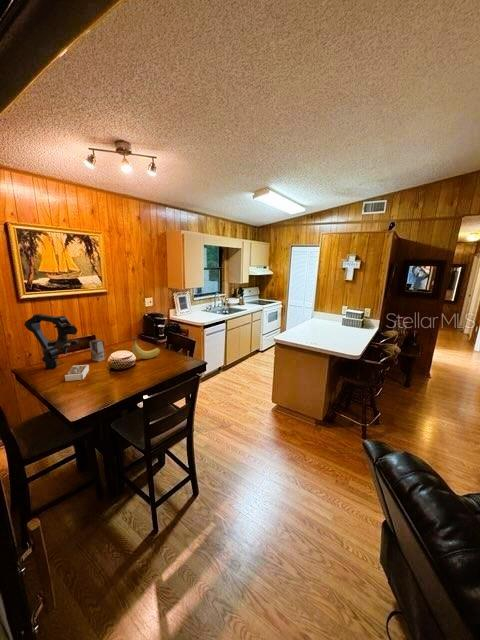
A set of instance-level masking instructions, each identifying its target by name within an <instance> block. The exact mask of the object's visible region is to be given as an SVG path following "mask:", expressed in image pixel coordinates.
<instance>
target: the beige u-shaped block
mask: <svg viewBox="0 0 480 640" xmlns="http://www.w3.org/2000/svg"><path fill="white" fill-rule="evenodd" d="M73 366H74V365H72V366H71V368H72V367H73ZM77 366H83V368H84V370H83V372H82V373H81V374H73V375H68V374H64V379H65V380H64V381H65V382H71V381H72V382H73V381H81V380H85V378H86V376H87V374H88V372H89V371H90V364H82V365H81V364H80V365H79V364H78V365H77Z"/></svg>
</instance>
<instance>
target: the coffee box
mask: <svg viewBox="0 0 480 640" xmlns="http://www.w3.org/2000/svg"><path fill="white" fill-rule="evenodd" d="M89 347H90V348H89V349H90V350H89V351H90V357H91V361H96V362H101V361H104V360H106V354H105V353H106V352H105V343H104V339H103V340H102V339H97V338H95V339H93V340H89Z"/></svg>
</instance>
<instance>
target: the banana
mask: <svg viewBox="0 0 480 640" xmlns="http://www.w3.org/2000/svg"><path fill="white" fill-rule="evenodd" d="M132 341H133V345H132V347H131V351H132V353H133V354H134V355H135V356H137V357H138V358H140V359H143V360H146V359H147V360H148V359H149V360H150V359H152V358H155V357H156V356H158V355H159V354H160V351H161V348H159V347H157V348H154V349H151V350H143V349H141V348H140V346H139V344H138V343H137V339H136V337H132Z"/></svg>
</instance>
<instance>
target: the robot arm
mask: <svg viewBox="0 0 480 640" xmlns="http://www.w3.org/2000/svg"><path fill="white" fill-rule="evenodd" d="M41 322H48V323H51V324H53V325H54V326H53V328H56V330H57V331H56V332H57V336H56V337H57V339H56V340H48V339H47V338H46V336H45V334H44V333H43V332H42V330H41ZM23 325H24V327H25V329H27V330H28V331H29V332H31V333H32V334H33V335H34V337H35V339H36V340H37V341H38V343H39V344H40V346H41V347H42V349H43V357H42V358H41V360H42V362H44V364H45V366H44V367H45V368H44V370H51V369H52V370H53V369H56V368H57V367H58V365H59V364H58V361H57V359H58V358H59V353H60V352H59V349H57V348H60V350H61V351H62V354H63V355H66V354H67V352H68V348H69V347H70V346H71V345H72V346H78V344H80V340H79V339H72V340H69V338H68V335H70V336H71V335H72V336H76V334H77V333H78V328H77V327H76V326H75V325H74V324H72V323H71V322H70V321H69V319H68V318H67V316H65V315H58V316H57V315H55V316H53V315H48V314H41V313H38V314H34V315H33V316H32V317H30V318H29V319H27V320H26V321H24V324H23Z"/></svg>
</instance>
